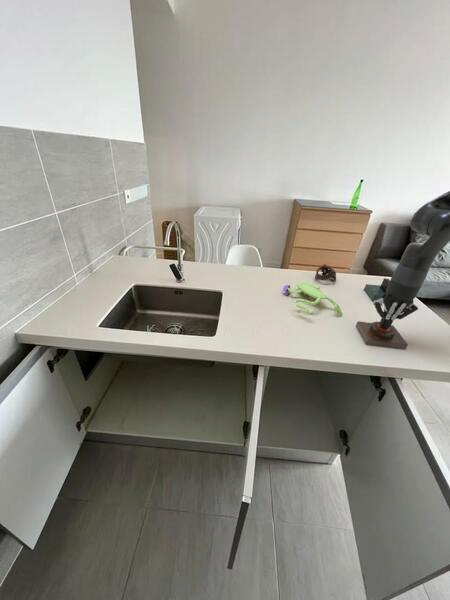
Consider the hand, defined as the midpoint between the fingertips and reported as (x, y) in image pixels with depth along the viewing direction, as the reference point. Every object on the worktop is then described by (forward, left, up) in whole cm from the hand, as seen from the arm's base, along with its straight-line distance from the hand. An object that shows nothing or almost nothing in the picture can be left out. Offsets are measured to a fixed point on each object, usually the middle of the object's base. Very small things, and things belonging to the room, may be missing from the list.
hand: (383, 327), depth 79 cm
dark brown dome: (+9, -42, -4) cm, 43 cm away
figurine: (+20, -18, -4) cm, 27 cm away
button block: (0, 0, -4) cm, 4 cm away
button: (0, 0, -2) cm, 2 cm away
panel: (-13, -30, -4) cm, 33 cm away
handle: (-13, -30, -1) cm, 33 cm away
